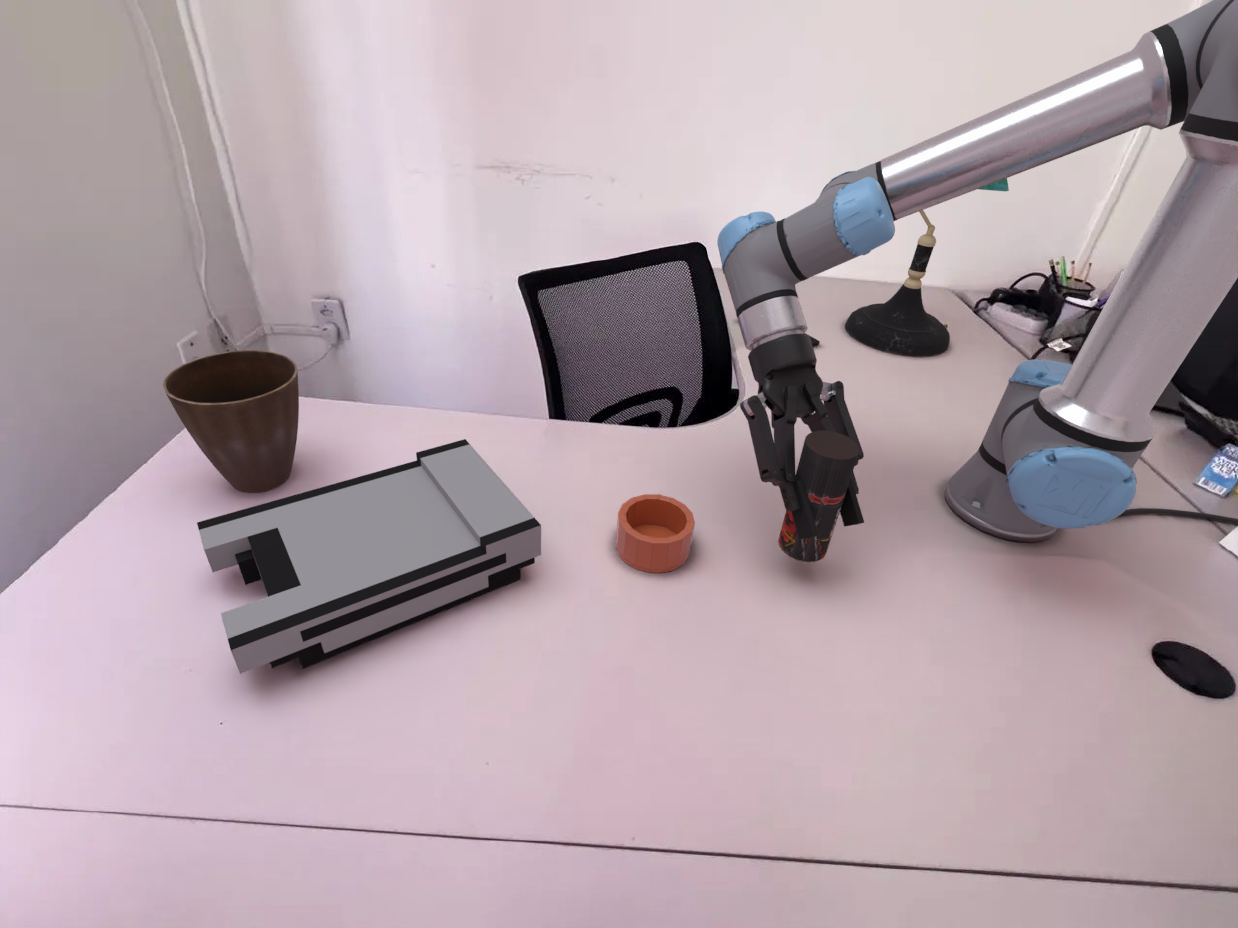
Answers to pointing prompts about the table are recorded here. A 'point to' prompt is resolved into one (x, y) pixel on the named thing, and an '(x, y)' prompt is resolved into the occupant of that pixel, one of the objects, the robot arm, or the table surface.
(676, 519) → the cup
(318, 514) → the game console
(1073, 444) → the robot arm
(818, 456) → the deodorant
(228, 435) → the flower pot
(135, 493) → the table surface
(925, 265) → the banker's lamp
